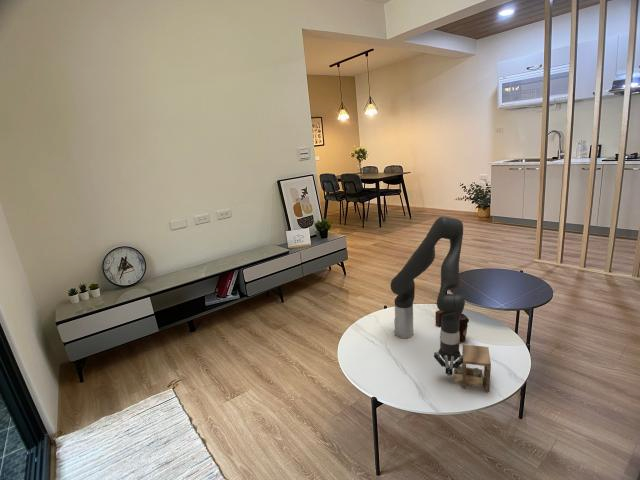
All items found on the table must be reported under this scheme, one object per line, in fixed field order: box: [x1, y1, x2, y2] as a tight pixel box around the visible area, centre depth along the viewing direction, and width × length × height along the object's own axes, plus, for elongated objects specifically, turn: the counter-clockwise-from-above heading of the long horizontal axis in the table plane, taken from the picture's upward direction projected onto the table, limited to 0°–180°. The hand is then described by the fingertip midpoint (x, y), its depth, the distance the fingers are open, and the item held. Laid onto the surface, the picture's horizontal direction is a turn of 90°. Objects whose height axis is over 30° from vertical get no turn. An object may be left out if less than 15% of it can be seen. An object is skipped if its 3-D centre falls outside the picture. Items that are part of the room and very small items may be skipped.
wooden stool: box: [461, 343, 492, 393], centre depth 146 cm, size 10×12×13 cm
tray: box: [453, 365, 484, 388], centre depth 148 cm, size 11×6×6 cm, turn 70°
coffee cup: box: [459, 313, 470, 344], centre depth 176 cm, size 9×8×13 cm
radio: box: [434, 302, 453, 329], centre depth 192 cm, size 19×3×15 cm, turn 115°
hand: (448, 374), depth 151 cm, fingers closed
